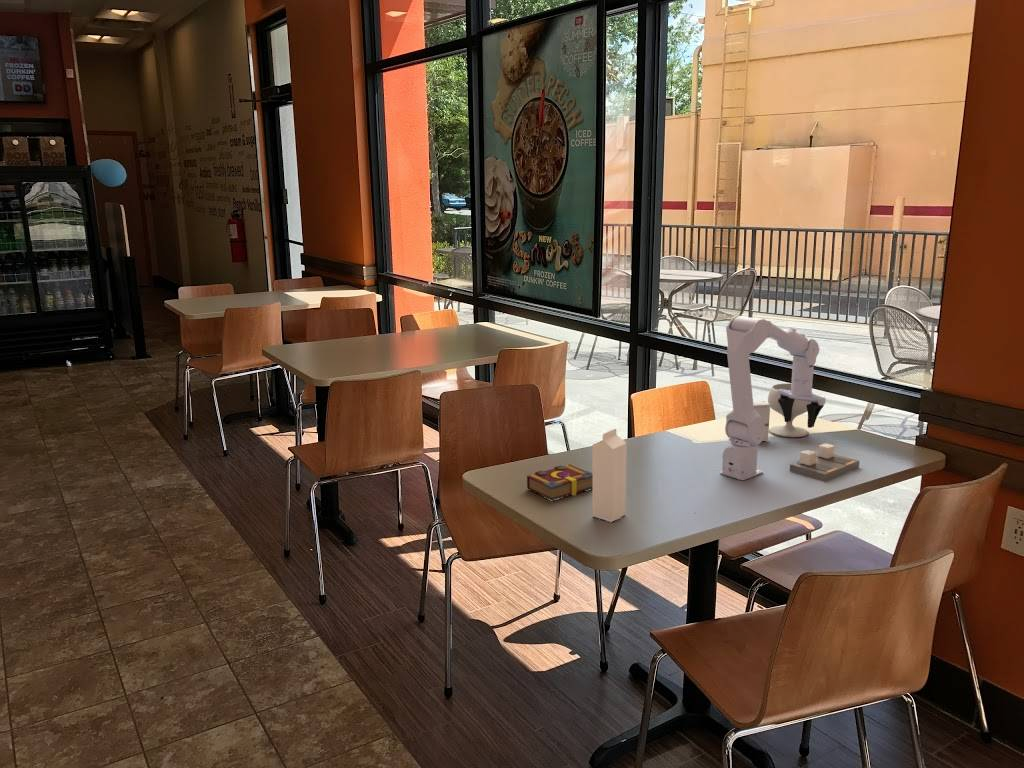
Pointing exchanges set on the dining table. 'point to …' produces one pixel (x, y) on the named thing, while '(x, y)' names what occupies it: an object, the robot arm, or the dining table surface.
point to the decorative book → (560, 481)
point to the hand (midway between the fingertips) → (799, 424)
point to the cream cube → (826, 451)
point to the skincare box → (763, 415)
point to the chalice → (797, 410)
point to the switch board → (825, 467)
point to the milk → (609, 477)
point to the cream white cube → (808, 457)
